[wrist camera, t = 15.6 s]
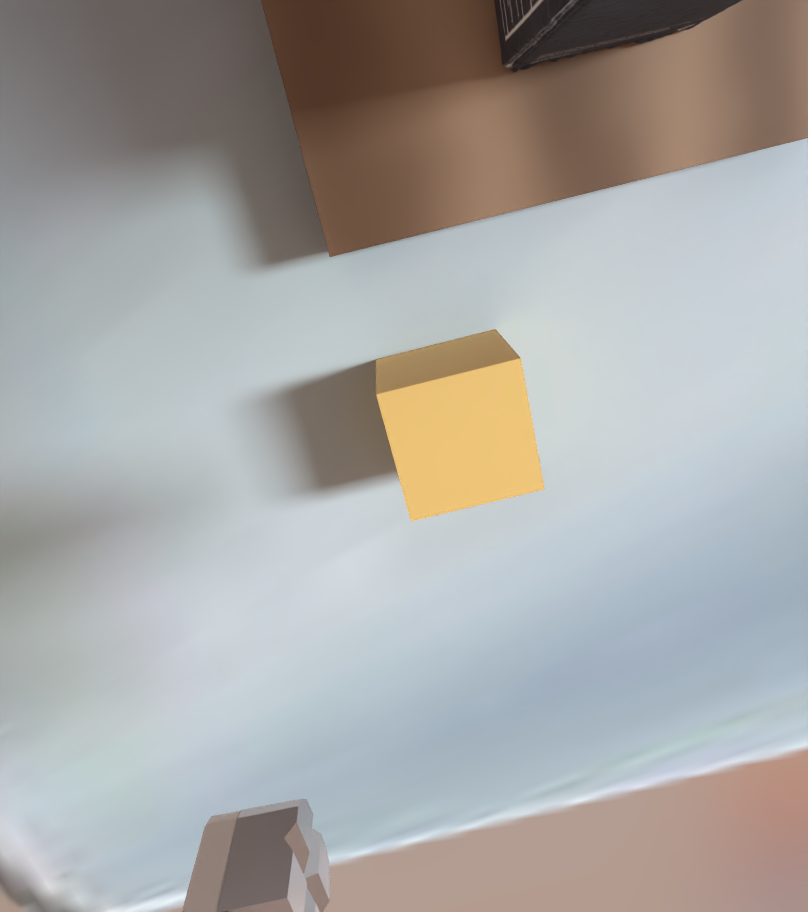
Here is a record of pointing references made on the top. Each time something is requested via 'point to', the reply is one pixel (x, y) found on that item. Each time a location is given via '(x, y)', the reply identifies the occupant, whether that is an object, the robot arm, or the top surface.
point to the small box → (590, 25)
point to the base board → (516, 108)
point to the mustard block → (458, 424)
